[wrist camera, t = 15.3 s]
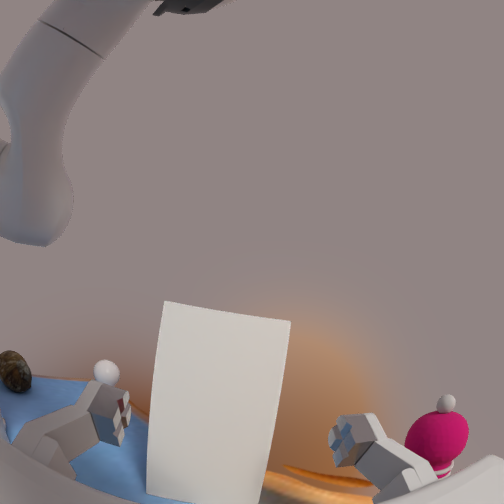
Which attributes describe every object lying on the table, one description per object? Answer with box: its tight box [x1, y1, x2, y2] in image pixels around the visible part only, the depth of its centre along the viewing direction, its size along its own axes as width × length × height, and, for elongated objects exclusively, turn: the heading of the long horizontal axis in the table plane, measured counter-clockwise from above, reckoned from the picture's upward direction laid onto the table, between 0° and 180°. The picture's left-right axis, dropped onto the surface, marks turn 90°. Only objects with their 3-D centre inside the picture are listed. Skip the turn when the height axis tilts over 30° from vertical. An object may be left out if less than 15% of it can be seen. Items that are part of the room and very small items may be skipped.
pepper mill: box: [405, 395, 469, 480], centre depth 13 cm, size 7×7×20 cm
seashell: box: [0, 351, 32, 392], centre depth 36 cm, size 11×9×8 cm
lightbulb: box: [93, 360, 120, 387], centre depth 50 cm, size 6×6×11 cm
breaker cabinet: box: [146, 301, 291, 504], centre depth 32 cm, size 14×13×26 cm
